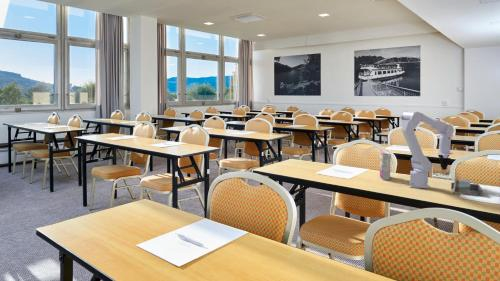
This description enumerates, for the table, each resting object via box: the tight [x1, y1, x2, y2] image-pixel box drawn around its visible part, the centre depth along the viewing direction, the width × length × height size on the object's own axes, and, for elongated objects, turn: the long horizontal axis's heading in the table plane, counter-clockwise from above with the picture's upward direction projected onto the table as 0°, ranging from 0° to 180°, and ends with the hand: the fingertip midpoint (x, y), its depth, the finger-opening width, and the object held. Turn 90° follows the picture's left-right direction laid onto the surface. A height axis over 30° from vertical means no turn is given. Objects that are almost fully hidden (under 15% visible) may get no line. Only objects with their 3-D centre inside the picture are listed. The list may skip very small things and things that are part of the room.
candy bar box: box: [379, 150, 392, 181], centre depth 232 cm, size 11×5×16 cm, turn 168°
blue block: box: [453, 178, 471, 193], centre depth 199 cm, size 4×7×6 cm, turn 67°
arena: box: [450, 181, 484, 197], centre depth 199 cm, size 13×12×3 cm
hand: (443, 168), depth 215 cm, fingers open, 7 cm apart
